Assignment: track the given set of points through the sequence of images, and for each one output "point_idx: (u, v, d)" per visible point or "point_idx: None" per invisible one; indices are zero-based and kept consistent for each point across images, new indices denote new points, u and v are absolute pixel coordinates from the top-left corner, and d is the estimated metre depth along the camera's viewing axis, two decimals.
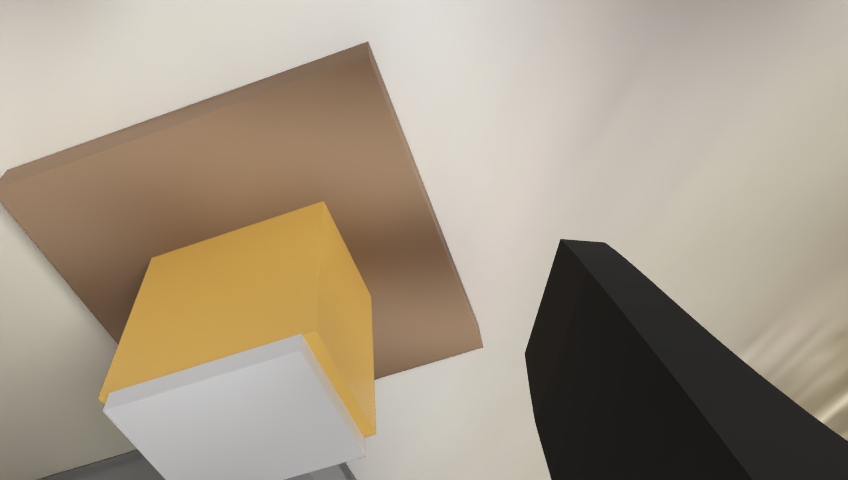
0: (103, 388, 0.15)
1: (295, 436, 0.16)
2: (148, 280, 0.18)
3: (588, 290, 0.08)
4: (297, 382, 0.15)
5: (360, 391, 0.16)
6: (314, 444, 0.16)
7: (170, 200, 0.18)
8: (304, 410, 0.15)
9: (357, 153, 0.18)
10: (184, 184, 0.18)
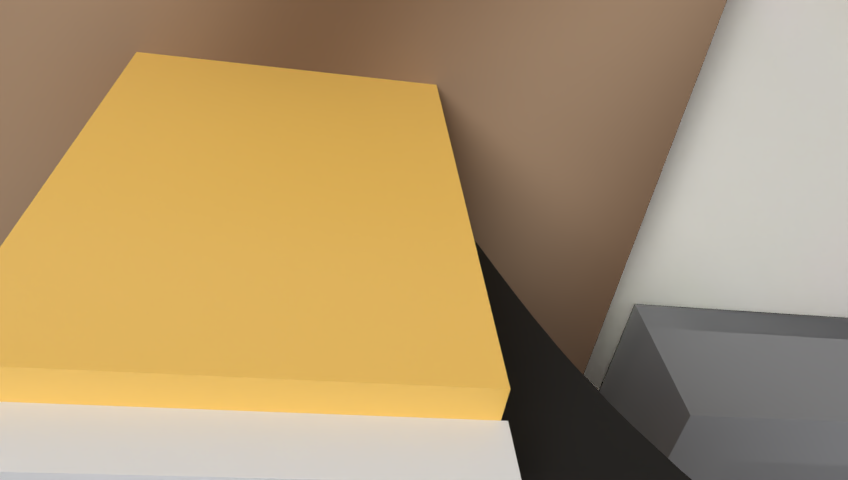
0: None
1: None
2: None
3: None
4: None
5: (359, 329, 0.05)
6: None
7: None
8: None
9: None
10: None
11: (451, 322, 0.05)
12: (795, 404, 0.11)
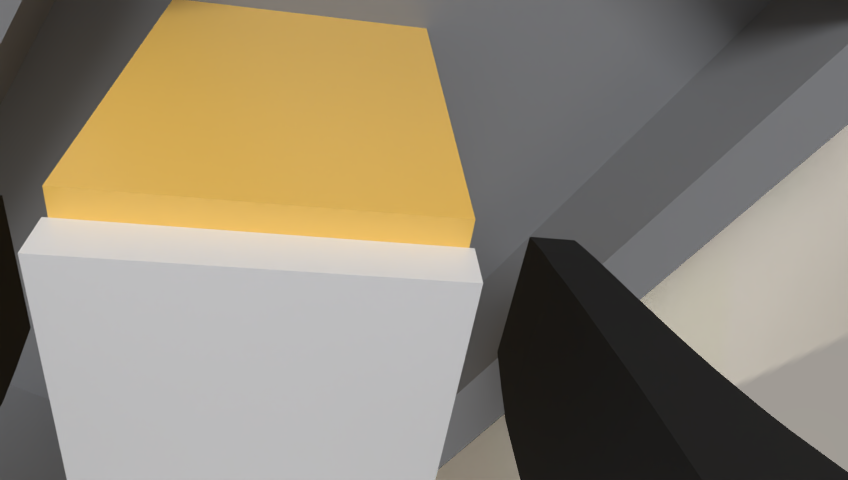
0: None
1: (319, 374, 0.06)
2: None
3: (553, 287, 0.08)
4: (133, 301, 0.06)
5: (361, 179, 0.06)
6: (369, 355, 0.06)
7: None
8: (239, 327, 0.06)
9: None
10: None
11: (432, 180, 0.07)
12: None
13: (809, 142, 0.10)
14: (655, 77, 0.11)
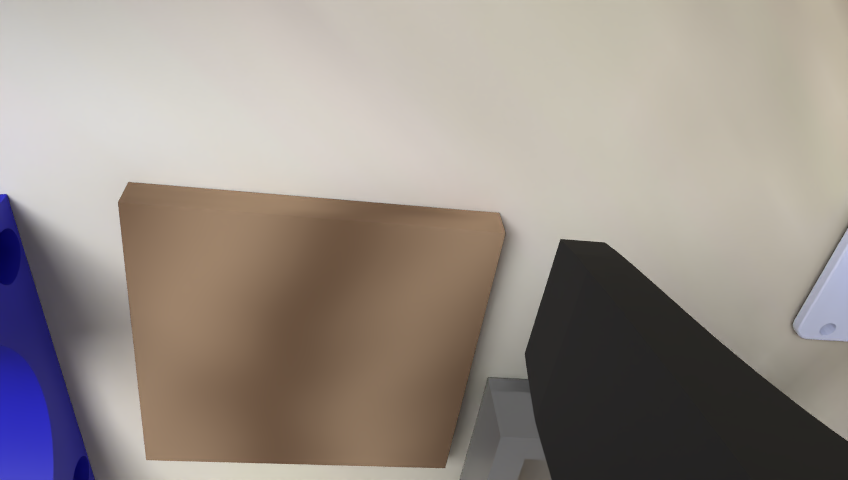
0: None
1: None
2: None
3: (588, 290, 0.08)
4: None
5: None
6: None
7: (200, 379, 0.21)
8: None
9: (212, 246, 0.19)
10: (189, 365, 0.21)
11: None
12: None
13: None
14: None
